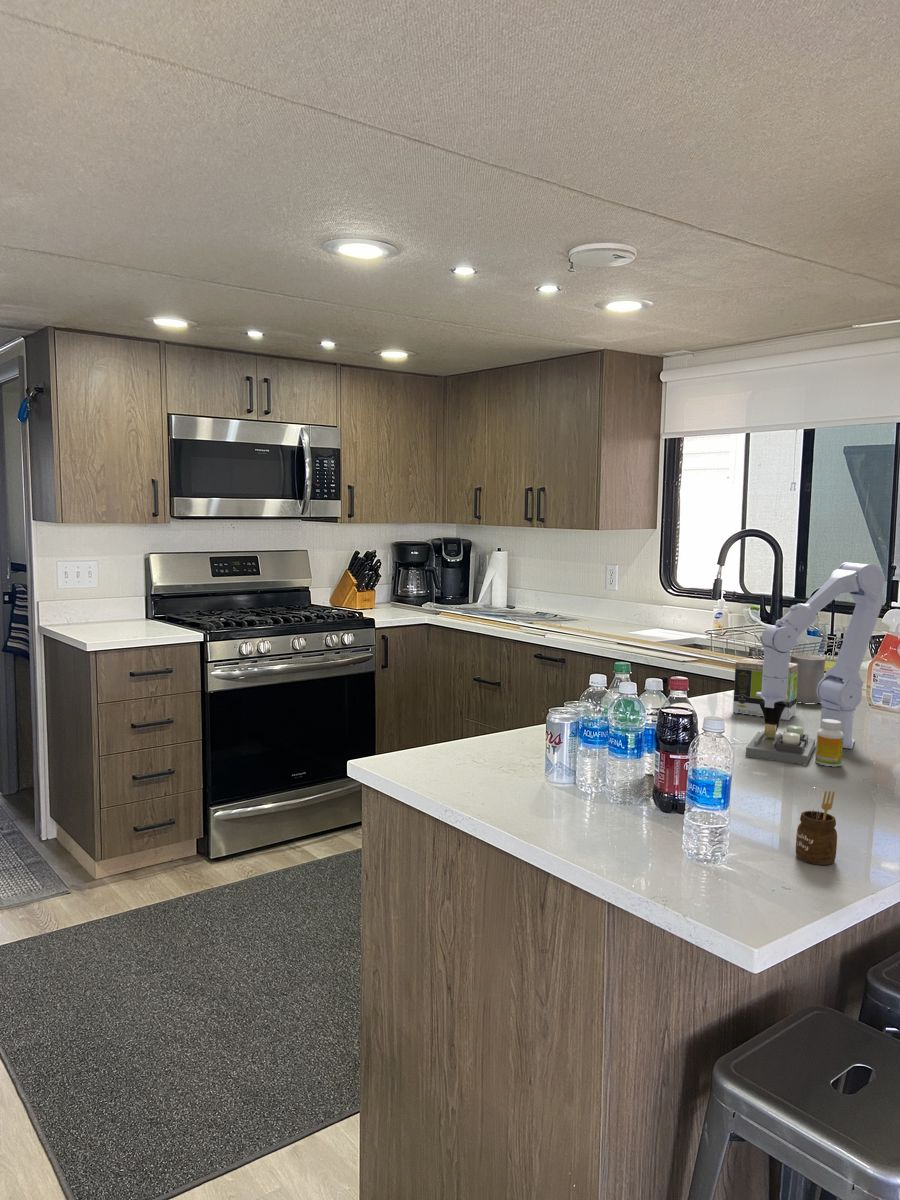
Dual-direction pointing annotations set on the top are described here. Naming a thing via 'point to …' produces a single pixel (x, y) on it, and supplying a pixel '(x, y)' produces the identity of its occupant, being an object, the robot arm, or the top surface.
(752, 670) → the tea box
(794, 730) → the sage button
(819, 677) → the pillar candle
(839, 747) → the supplement bottle
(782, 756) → the panel
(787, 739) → the white button
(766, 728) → the tan wooden block
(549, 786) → the top surface
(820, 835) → the utensil holder
